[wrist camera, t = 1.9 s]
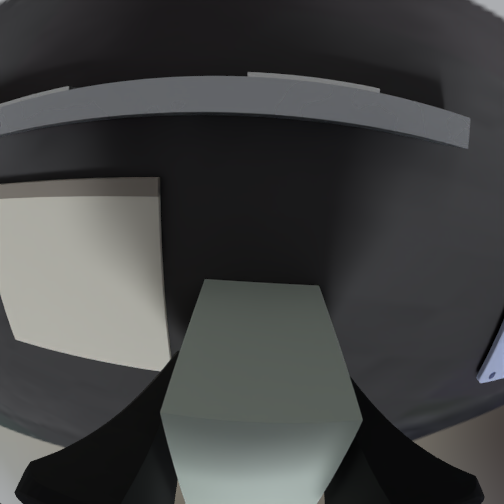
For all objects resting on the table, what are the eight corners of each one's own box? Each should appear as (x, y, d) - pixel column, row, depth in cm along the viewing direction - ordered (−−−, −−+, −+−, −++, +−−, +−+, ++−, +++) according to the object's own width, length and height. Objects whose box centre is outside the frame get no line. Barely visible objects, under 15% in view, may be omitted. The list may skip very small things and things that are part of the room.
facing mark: (160, 177, 10) (158, 178, 9) (172, 369, 13) (171, 373, 12) (-18, 185, 10) (-21, 186, 9) (17, 337, 13) (15, 339, 12)
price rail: (446, 114, 8) (470, 113, 7) (444, 145, 9) (468, 149, 8) (-54, 130, 9) (-75, 133, 7) (-54, 151, 9) (-75, 157, 8)
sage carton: (322, 285, 11) (369, 419, 5) (299, 400, 13) (312, 517, 7) (200, 278, 11) (152, 411, 5) (205, 395, 13) (184, 511, 8)
